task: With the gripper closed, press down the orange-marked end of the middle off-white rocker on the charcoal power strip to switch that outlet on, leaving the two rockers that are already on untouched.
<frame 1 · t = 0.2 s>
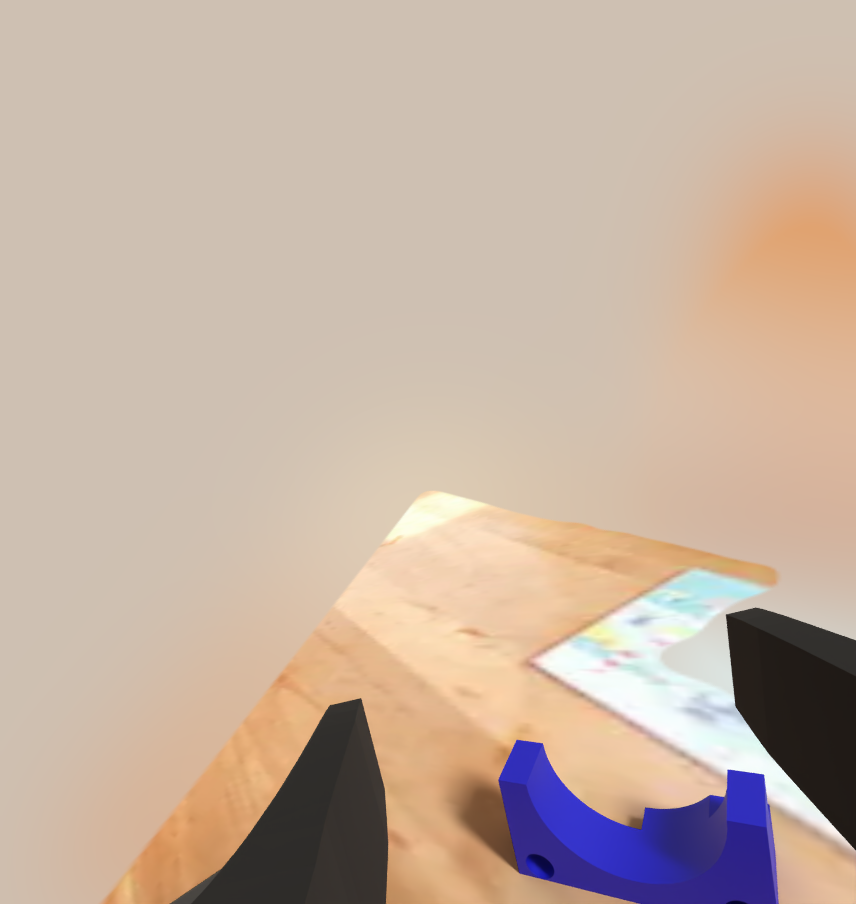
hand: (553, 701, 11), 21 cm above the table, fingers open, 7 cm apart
blue pipe cradle: (644, 869, 31), on the table
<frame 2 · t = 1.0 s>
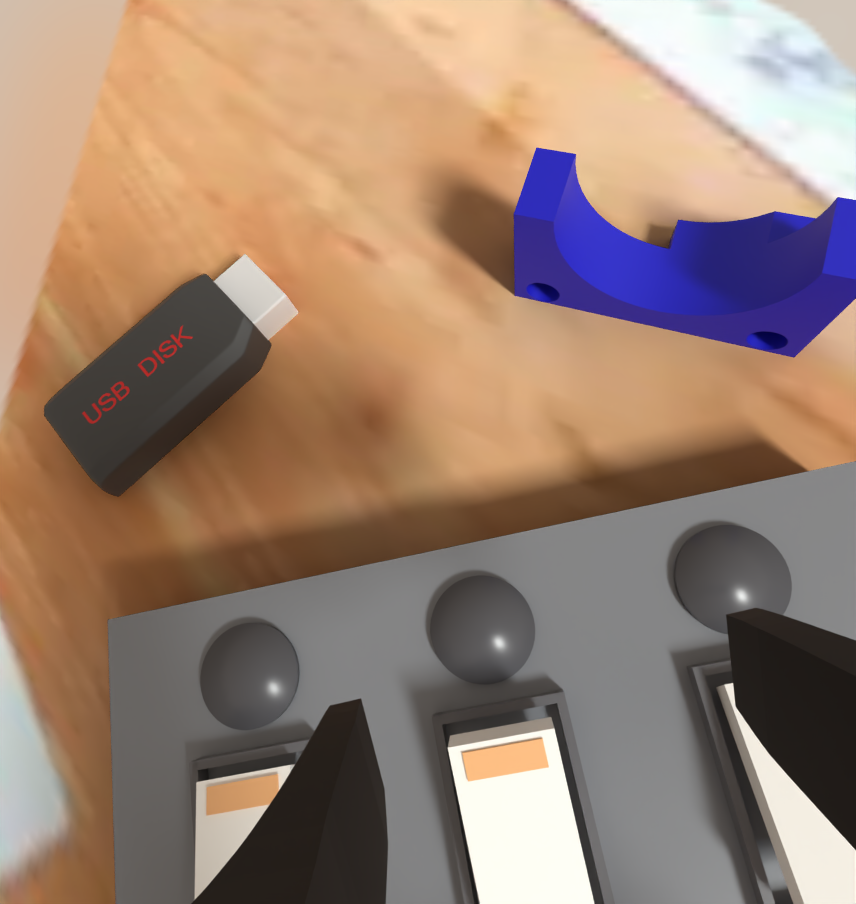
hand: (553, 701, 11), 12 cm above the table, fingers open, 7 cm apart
rocker 2: (251, 882, 18), point 4 cm above the table, hinge at 10.0°
rocker middle: (523, 836, 18), point 4 cm above the table, hinge at -10.0°
usb drive: (191, 378, 30), on the table
blue pipe cradle: (657, 285, 27), on the table
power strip: (506, 722, 23), on the table
rocker 1: (817, 786, 17), point 4 cm above the table, hinge at 10.0°
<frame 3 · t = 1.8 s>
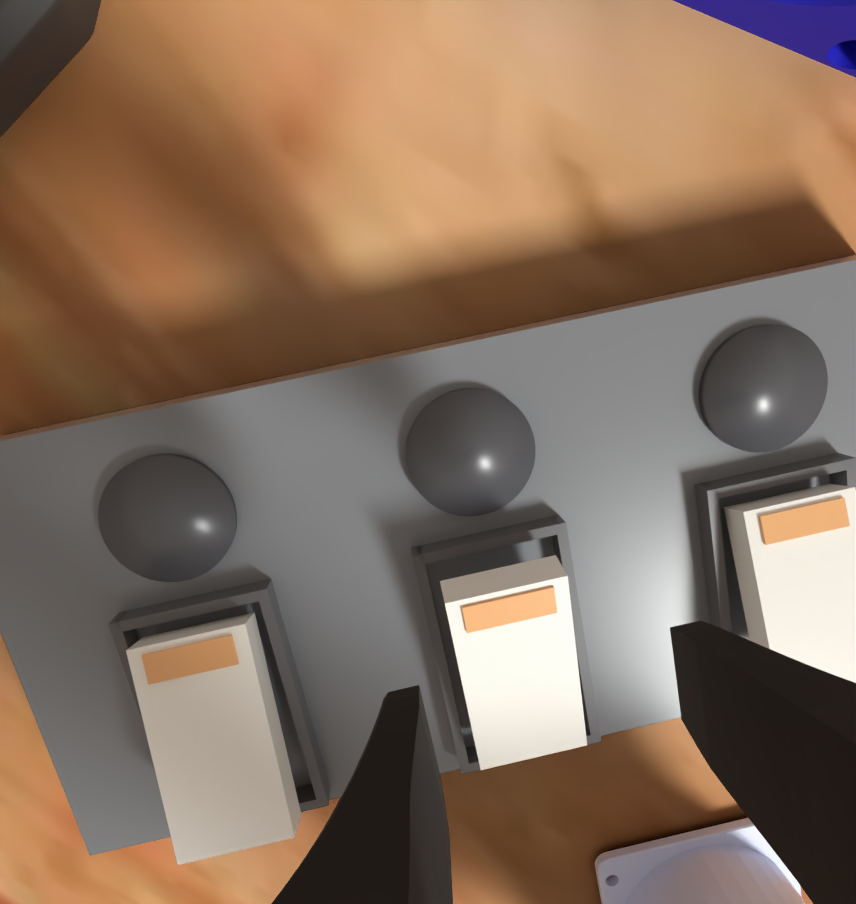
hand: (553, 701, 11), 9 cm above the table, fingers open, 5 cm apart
rocker 2: (216, 736, 17), point 4 cm above the table, hinge at 10.0°
rocker middle: (517, 667, 17), point 4 cm above the table, hinge at -10.0°
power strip: (476, 531, 21), on the table
rocker 1: (808, 600, 17), point 4 cm above the table, hinge at 10.0°
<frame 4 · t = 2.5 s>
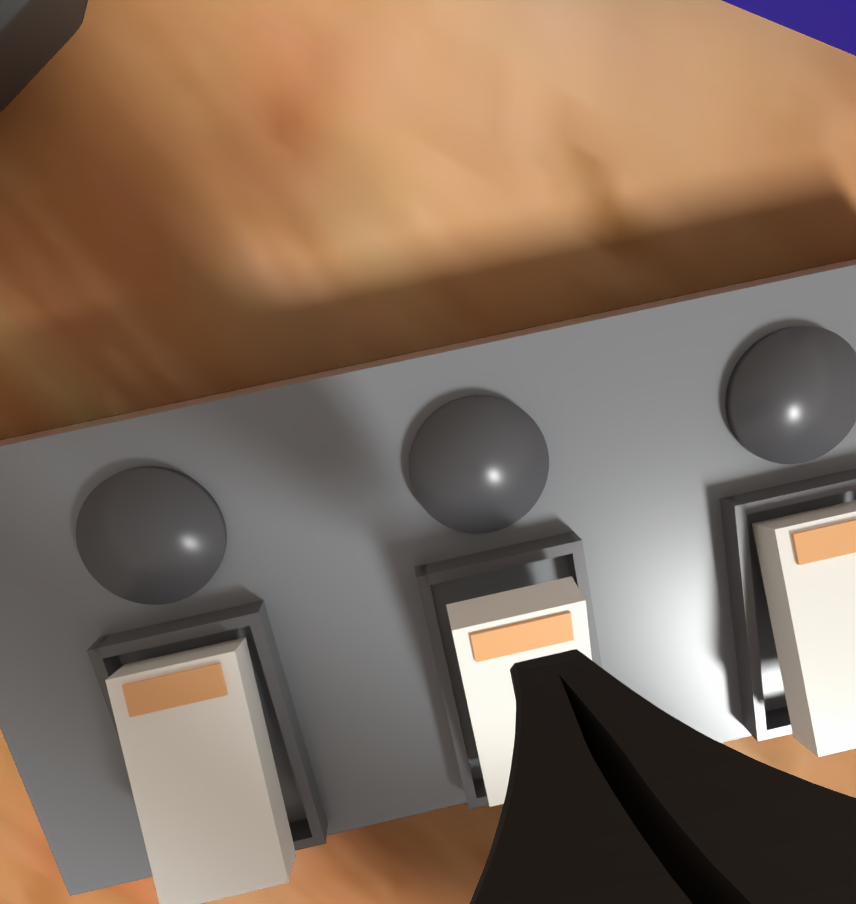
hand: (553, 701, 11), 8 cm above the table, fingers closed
rocker 2: (204, 772, 15), point 4 cm above the table, hinge at 10.0°
rocker middle: (529, 697, 16), point 4 cm above the table, hinge at -10.0°
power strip: (483, 546, 19), on the table
rocker 1: (843, 624, 16), point 4 cm above the table, hinge at 10.0°
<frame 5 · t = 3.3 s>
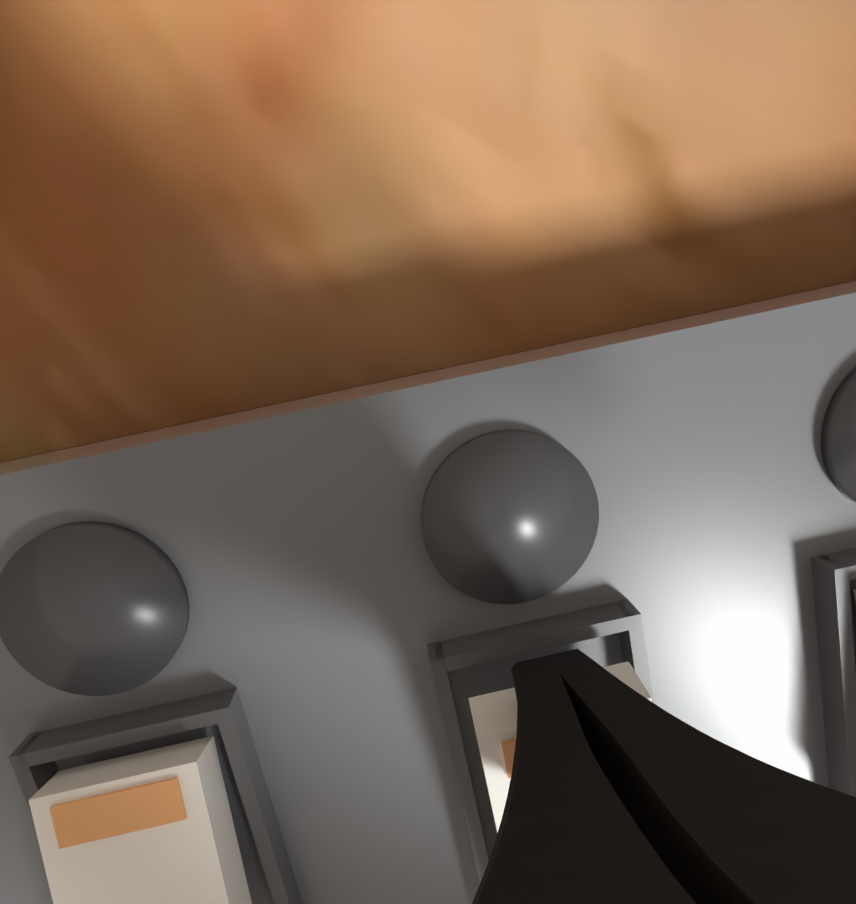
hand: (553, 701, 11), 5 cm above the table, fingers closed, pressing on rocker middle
rocker middle: (574, 815, 12), point 4 cm above the table, hinge at -8.1°, touching gripper
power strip: (508, 605, 16), on the table
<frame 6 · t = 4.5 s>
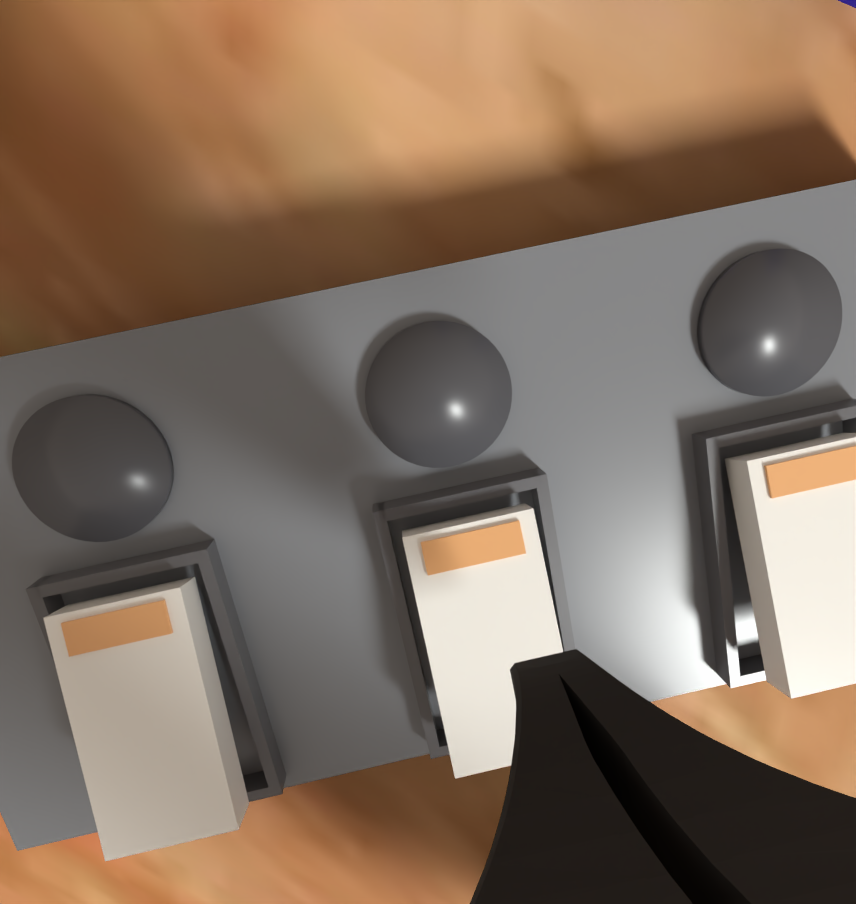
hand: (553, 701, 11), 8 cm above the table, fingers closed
rocker 2: (150, 715, 15), point 4 cm above the table, hinge at 10.0°
rocker middle: (491, 637, 15), point 4 cm above the table, hinge at 10.4°
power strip: (450, 493, 19), on the table
rocker 1: (818, 562, 15), point 4 cm above the table, hinge at 10.0°
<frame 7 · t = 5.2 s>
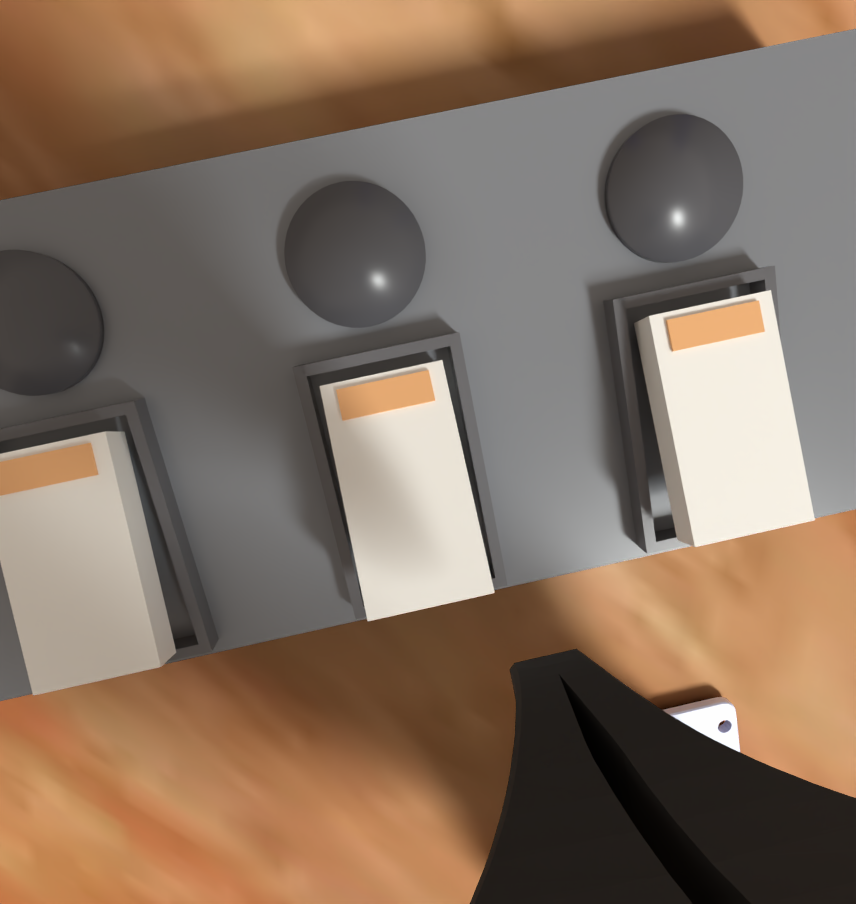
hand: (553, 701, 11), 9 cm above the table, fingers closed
rocker 2: (79, 560, 15), point 4 cm above the table, hinge at 10.0°
rocker middle: (406, 488, 15), point 4 cm above the table, hinge at 17.6°
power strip: (385, 379, 19), on the table
rocker 1: (723, 419, 16), point 4 cm above the table, hinge at 10.0°
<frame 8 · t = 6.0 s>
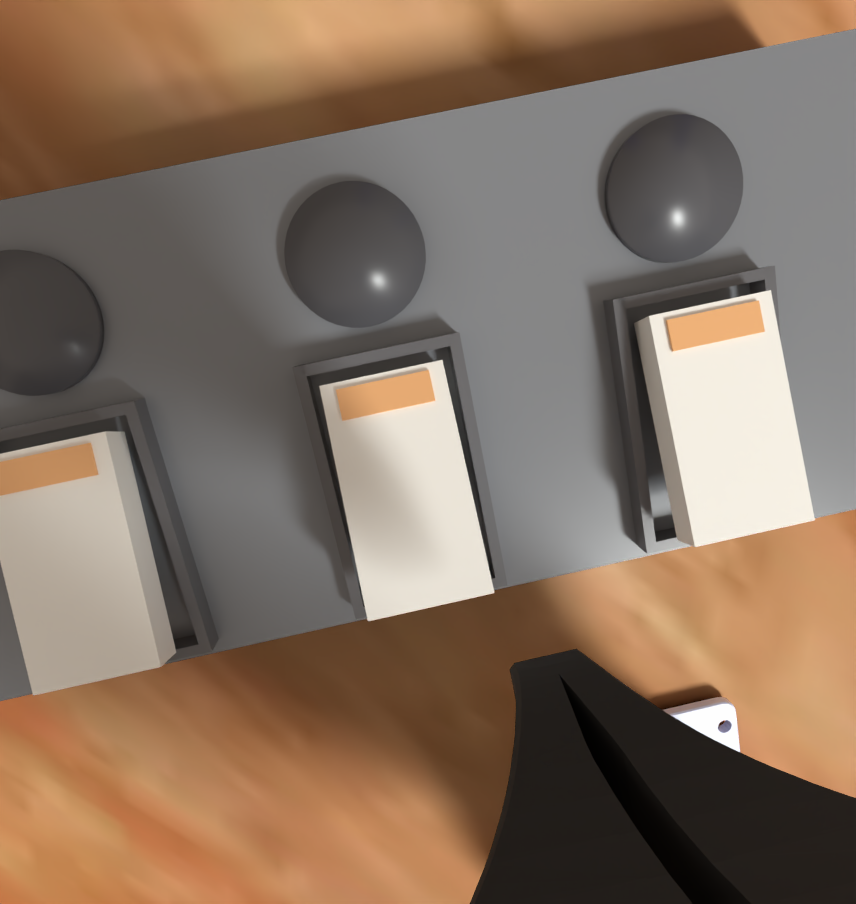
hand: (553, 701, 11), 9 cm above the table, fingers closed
rocker 2: (79, 560, 15), point 4 cm above the table, hinge at 10.0°
rocker middle: (406, 488, 15), point 4 cm above the table, hinge at 16.7°
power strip: (385, 379, 19), on the table
rocker 1: (723, 419, 16), point 4 cm above the table, hinge at 10.0°
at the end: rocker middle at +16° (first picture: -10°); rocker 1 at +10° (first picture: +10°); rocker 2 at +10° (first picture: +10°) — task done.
